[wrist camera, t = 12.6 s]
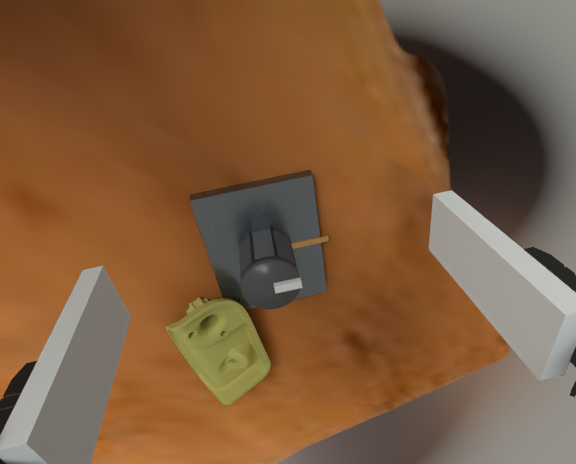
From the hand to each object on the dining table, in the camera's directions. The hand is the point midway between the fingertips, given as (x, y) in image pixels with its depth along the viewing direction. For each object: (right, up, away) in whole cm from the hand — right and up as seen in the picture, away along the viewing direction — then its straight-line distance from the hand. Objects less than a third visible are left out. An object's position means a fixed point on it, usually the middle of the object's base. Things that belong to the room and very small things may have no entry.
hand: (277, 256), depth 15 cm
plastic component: (-10, -13, +39) cm, 43 cm away
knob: (-2, -1, +31) cm, 31 cm away
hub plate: (-3, -1, +32) cm, 32 cm away
